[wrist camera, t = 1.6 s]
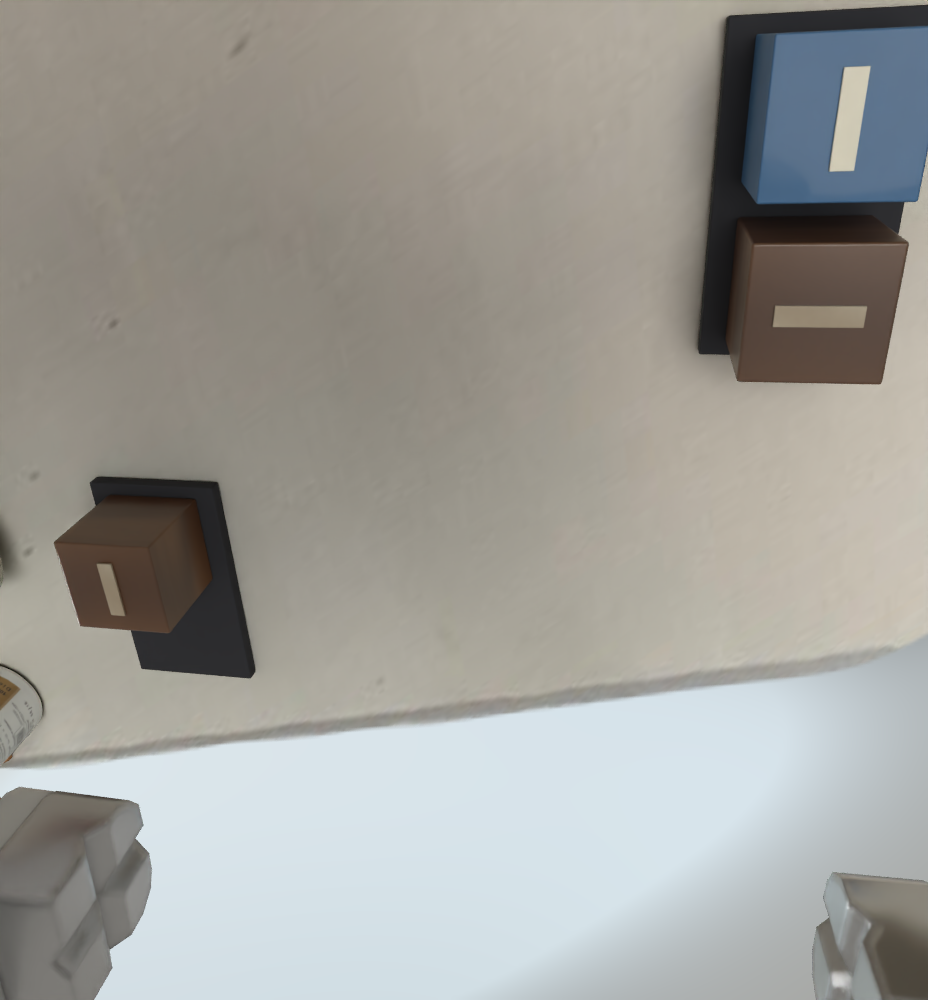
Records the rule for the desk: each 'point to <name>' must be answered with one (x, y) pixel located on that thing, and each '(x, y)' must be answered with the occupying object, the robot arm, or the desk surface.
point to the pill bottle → (16, 711)
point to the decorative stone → (1, 572)
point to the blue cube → (838, 116)
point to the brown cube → (813, 298)
